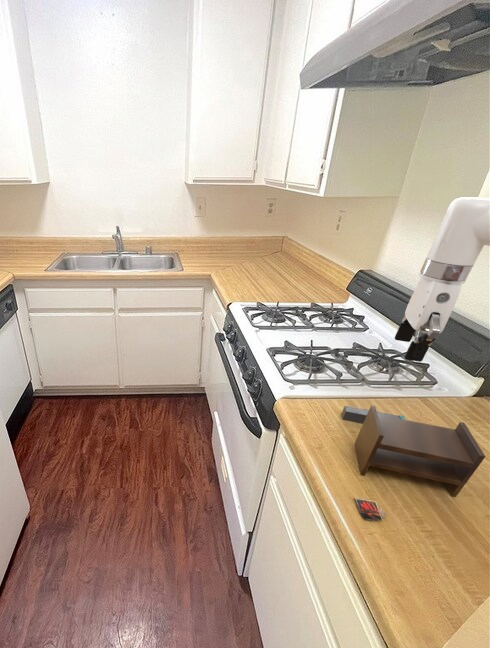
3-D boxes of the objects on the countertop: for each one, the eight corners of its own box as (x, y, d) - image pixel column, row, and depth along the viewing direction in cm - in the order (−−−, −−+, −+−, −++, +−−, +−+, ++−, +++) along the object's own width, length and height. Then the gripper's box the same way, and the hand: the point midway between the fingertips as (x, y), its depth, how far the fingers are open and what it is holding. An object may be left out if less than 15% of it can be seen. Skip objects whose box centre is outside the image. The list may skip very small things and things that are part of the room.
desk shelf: (439, 461, 75) (464, 422, 69) (455, 497, 67) (485, 456, 61) (354, 443, 79) (371, 405, 73) (360, 475, 71) (379, 435, 65)
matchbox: (365, 522, 62) (366, 520, 62) (349, 498, 66) (350, 497, 66) (389, 520, 62) (390, 519, 62) (372, 497, 66) (373, 495, 66)
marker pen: (399, 424, 85) (403, 415, 84) (402, 431, 83) (406, 422, 82) (341, 413, 89) (344, 404, 87) (342, 419, 87) (346, 410, 85)
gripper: (486, 286, 59) (438, 372, 68) (451, 262, 72) (415, 336, 82) (436, 280, 60) (396, 365, 70) (411, 258, 74) (381, 331, 84)
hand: (406, 349), depth 76 cm, fingers open, 9 cm apart
